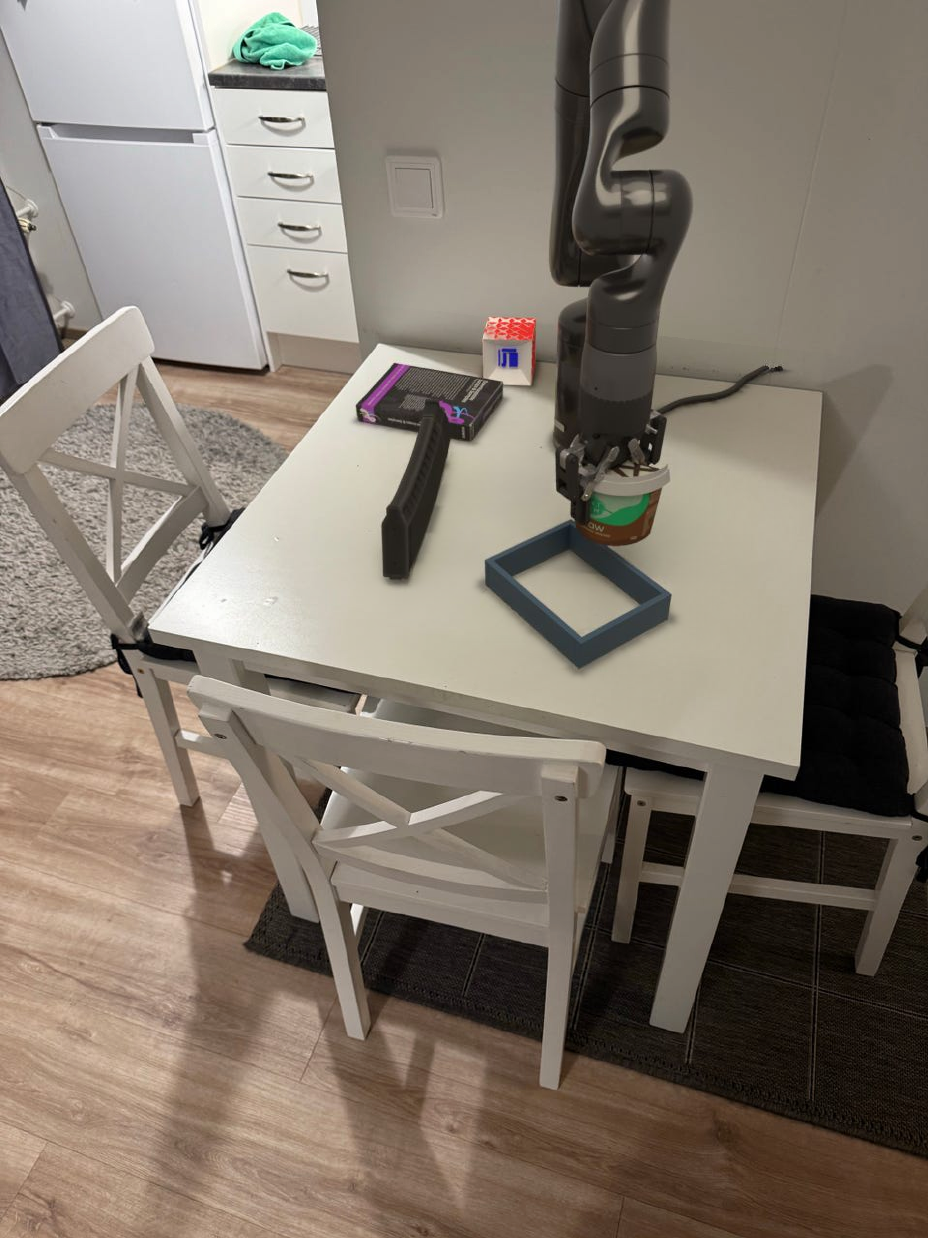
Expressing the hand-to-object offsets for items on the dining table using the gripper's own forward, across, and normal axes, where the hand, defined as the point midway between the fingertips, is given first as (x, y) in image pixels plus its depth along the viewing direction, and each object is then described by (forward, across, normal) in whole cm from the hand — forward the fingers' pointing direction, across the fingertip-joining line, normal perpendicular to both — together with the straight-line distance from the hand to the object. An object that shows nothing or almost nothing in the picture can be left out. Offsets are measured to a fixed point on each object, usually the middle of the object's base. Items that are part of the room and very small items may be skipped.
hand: (605, 509), depth 104 cm
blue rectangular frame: (+11, -4, -1) cm, 12 cm away
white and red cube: (+12, +23, +50) cm, 57 cm away
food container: (+4, 0, 0) cm, 4 cm away
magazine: (+12, -10, +26) cm, 30 cm away
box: (+12, +6, +48) cm, 50 cm away
